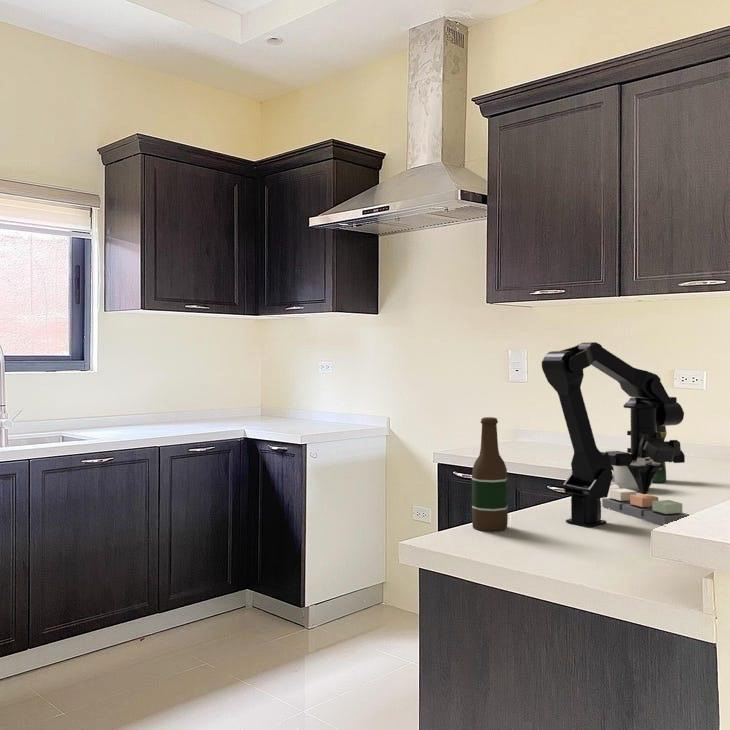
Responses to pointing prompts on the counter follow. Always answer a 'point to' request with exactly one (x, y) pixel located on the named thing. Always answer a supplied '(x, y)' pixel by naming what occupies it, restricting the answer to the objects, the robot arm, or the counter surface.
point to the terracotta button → (642, 500)
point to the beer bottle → (489, 483)
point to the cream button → (621, 494)
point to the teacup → (624, 478)
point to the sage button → (667, 506)
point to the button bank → (642, 511)
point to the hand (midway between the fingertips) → (643, 494)
